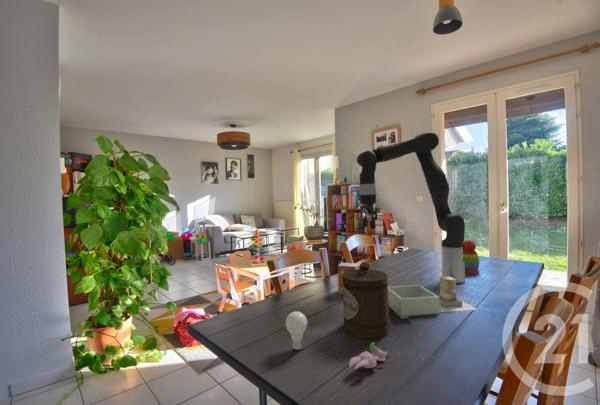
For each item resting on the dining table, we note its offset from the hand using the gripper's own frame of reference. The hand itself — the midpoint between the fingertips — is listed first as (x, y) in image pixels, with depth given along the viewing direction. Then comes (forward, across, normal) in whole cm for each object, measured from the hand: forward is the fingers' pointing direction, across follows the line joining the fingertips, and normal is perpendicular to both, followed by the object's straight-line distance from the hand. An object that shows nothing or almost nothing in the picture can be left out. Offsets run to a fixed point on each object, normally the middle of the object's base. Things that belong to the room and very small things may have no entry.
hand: (368, 227), depth 139 cm
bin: (+28, -29, -4) cm, 41 cm away
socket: (+29, -29, -19) cm, 45 cm away
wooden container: (+28, -39, +19) cm, 52 cm away
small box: (+28, -4, +13) cm, 32 cm away
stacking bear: (+29, +9, -61) cm, 68 cm away
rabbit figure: (+28, -59, +27) cm, 71 cm away
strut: (+28, -29, -19) cm, 45 cm away
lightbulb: (+28, -47, +44) cm, 70 cm away
